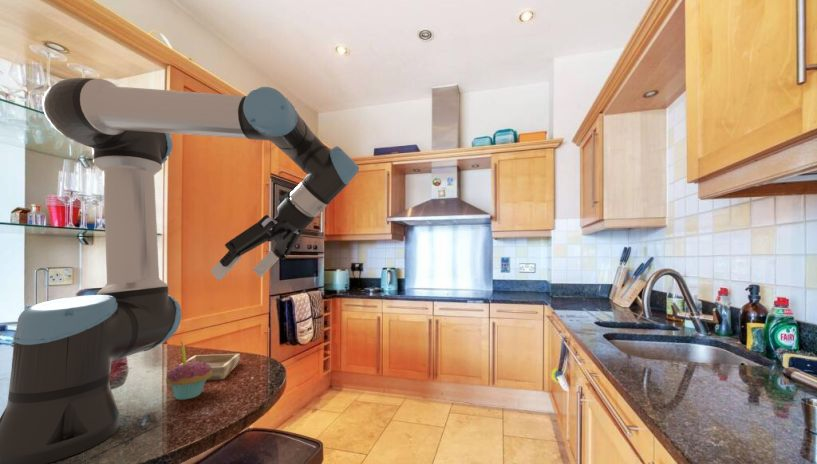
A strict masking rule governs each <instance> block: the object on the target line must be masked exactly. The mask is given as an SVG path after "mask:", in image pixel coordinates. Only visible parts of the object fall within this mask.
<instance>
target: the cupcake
mask: <svg viewBox="0 0 817 464" xmlns="http://www.w3.org/2000/svg"><path fill="white" fill-rule="evenodd" d="M180 344H181V346H180V349H181V358H182V360H181V361H182V363H183V364H181V363H180V364H181V365H180V364H177V365H176V366H175V367H173V368H172V369H171V370H170V371H169V372H168V373H167V375H166V379H165V381H166V384H167V385H170V387H171V389H172V391H173V394H174V398H175V399H176V400H188V399H189V400H190V399H193V398H196V397H198V396H200V395H201V394H202V392H203V391H202V390H203V388H204V386H205V383H206V382H207V381H208V380H207V379H208V378H210V377H211V375H212V370H211V369H212V368H211V367H210V366H209V365H208V364H206V363H204V362H200V361H194V362H187V363H186V360H187V356H186V347H185V344H183V342H181V343H180Z"/></svg>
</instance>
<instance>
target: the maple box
mask: <svg viewBox="0 0 817 464" xmlns="http://www.w3.org/2000/svg"><path fill="white" fill-rule="evenodd" d="M194 361H200V362H204V363H206V364H208V365H209V366H210V367H211V368H212V369H211V370H212V375H211V377H210V378H208V379H207V380H206V381H214V380H215V381H216V380H218V381H219V380H224V379H225V378H226V377H227V376H229V375H230V374H231V373H232V372H233V371H234V370H235V369H236V368H237V367H238V366H239V365H240V364H241V363H240V361H241V353H222V354H221V353H218V354H197V355H196V354H195V355H193V356H191V357H189V358H188V359H186V363H187V362H194ZM239 363H240V364H239ZM181 364H183V362H182V363H180V364H179V365H181ZM238 364H239V365H238ZM237 365H238V366H237ZM236 366H237V367H236ZM235 367H236V368H235ZM234 368H235V369H234ZM233 369H234V370H233ZM232 370H233V371H232ZM231 371H232V372H231ZM230 372H231V373H230Z"/></svg>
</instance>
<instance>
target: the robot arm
mask: <svg viewBox="0 0 817 464" xmlns="http://www.w3.org/2000/svg"><path fill="white" fill-rule="evenodd" d="M42 108H43V113H44V115H45V118H46V119H47V121H48V122H49V124H50V125H51V126H52V127H53V128H54V129H55V130H56V131H57V132H58V133H59V134H61V135H63V136H64V137H65V138H67V139H68V140H71V141H74V142H76V143H78V144H81V145H84V146H86V147H89V148H91V149H92V165H94V166H95V167H96V168H97V169H98V170H100V171H101V172H102V179H103V180H102V181H103V206H104V207H103V208H104V209H103V210H104V211H103V212H104V233H105V235H104V237H105V240H104V242H105V264H106V265H105V266H106V283H105V285H104V286H103V287H102V288H101V289H100V290H98V292H96V294H88V295H87V294H86V295H78V296H73V297H62V298H58V299H52V300H47V301H43V302H39V303H37V304H36V303H35V304H33V305H31V306H29V307H27V308H25V309H24V310H23V311H22V312H21V313H20V315H19V316H18V319H17V321H16V322H17V323H16V328H15V329H16V330H15V331H14V333H13V335H12V340H13V347H12V348H13V349H12V359H11V360H12V361H11V369H10V379H9V387H8V397H7V402H6V403H7V404H6V406H5V408H4V410H3V412H2V414H1V416H0V464H49V463H53V462H57V461H59V460H63V459H66V458H69V457H71V456H75V455H77V454H80V453H82V452H85V451H87V450H89V449H91V448H93V447H95V446H97V445H99V444H101V443H103V442H104V441H106V440H107V439H109V438H110V437H111V436H113V435H114V434H115V433H116V432H117V431H118V429H119V426H120V417H121V415H120V411H119V409H118V406H117V402H116V399H115V397H114V394H113V391H112V388H111V386H110V381H111V370H112V363H113V362H115V361H118V360H120V359H123V358H126V357H129V356H133V355H136V354H138V353H141V352H147V351H149V350H152V349H154V348H156V347H157V346H159V345H161V344H164V343H166V342H167V341H168V340H170V339H171V338H172V337H173V336H174V335H175V333H176V332H177V330H178V329H179V327H180V324H181V321H182V315H183V314H182V308H181V305H180V303H179V302H178V301H177V300H175V299H176V298H175V297H173V296H172V295H169V285H168V283H166V282H164V281H163V280H162V279H161V278H160V269H159V252H158V251H159V249H158V227H157V210H156V209H157V206H156V187H155V186H156V185H155V183H156V182H155V175H156V174H157V173H159V172H160V171H161V170H162V169H163V164H164V163H165V162H166V161H168V157H170V156H171V154H172V150H173V139H172V135H173V134H175V135H176V134H177V135H188V136H190V135H192V136H205V137H217V138H219V137H220V138H231V139H244V140H245V139H248V140H258V141H268V142H271V143H272V144H274V145H275V146H276V147H277V148H278V149H279V150H281V152H283V153H284V154H285V155H286V156H288V158H289V159H291V161H293V163H294V164H296V165H297V167H299V168H300V169H301V170H302V172H303V173H305V174H306V176H305V177H304V178H303V180H302V181H301V182H299V184H298V185H297V186H296V187H295V188H294V189H293V190H292V191H291V192H290V193H289V196H287V197H286V198H284V200H283V201H281V203H279V204H278V206H277V208H276V209H277V210H276V211H277V215H276V216H275V217H274V218H273V219H272V218H271V217H270V216H269V215H268V214H266V215H264V216H263V217H261V218H260V220H259V221H257V222H256V223H254V224H253V225H251V226H250V227H248V228H247V229H245V230H244V231H242V232H240V233H239V234H237V235H236V236H235V237H233V238H232V239H231V240H229V241H227V242H226V243H225V244H224V247H225V248H226V249H227V250H228V251H227V253H225V255H224V256H222V257H221V258H220V260H219V261H217V263H216V264H215V265H214V266H213V267H212V268H211V269H210V273H211V274H212V275H213V276H214V277H215V279H216V280H217V281H222V279H223V278H224V277H225V276H227V274H228V273H229V272H230V271H231V270H232V269H233V268H234V267H235V266H236V265H237V264H238V262H240V260H241V259H242V256H243V255H244V254H246V253H248V252H250V251H252V250H253V249H255V248H257V247H259V246H260V245H263V244H264V243H266V242H268V243H270V242H273V241H274V240H275V243H274V244H275V245H274V249H273V250H270V251H269V252H268V253H267V254H265V256H264V257H263V258H262V259H261V260H260V261H258V263H257V265H255V266H254V267H253V271H254V272H255V273H256V275H257V276H258V277H259V278H262V277H263V276H264V275H265V274H266V273H267V272H268V271H269V270H270V269H271V268H272V267H273V265H274V264H275V263H277V261H278V260H279V259H280V260H281V261H283V260H285V259H286V257H287V256H289V255H290V254H291V252H292V250H293V248H294V246H295V245H296V243H297V241H298V239H299V238H300V236H301V235H302V234H303V232H305V229H307V228H308V227H309V226H310V224H311V223H312V222H313V221H314V217H315V218H316V217H318V216H319V215H320V214H321V213H324V212H325V208H326V207H327V206H328V205H329V204H331V202H332V201H333V200H334V199H335V198H337V196H338V195H339V194H340V193H341V192H342V191H343V190H344V189H345V188H346V187H347V186H349V184H350V182H351V181H352V180H353V179H354V178H355V177H356V176H357V175H358V173H359V170H360V169H359V165H358V163H356V162H355V160H353V159H352V157H350V156H349V155H348V154H347V153H346V152H345V151H344V150H343V149H342V148H341V147H340V146H334V147H332V148H331V149H330V148H328V146H326V145H325V144H324V143H323V142H322V141H321V140H320V139H319V137H317V135H316V134H314V132H313V130H311V129H310V127H309V126H308V125H307V124H306V122H305V121H304V120H303V118H302V117H301V115H300V114H299V113H298V112H297V110H296V107H295V106H294V105H293V103H292V102H291V101H290V100H289V99H288V98H287V97H286V96H285V95H284V94H283V93H281V92H280V91H279V90H277V89H276V88H273V87H270V86H261V87H259V88H258V87H257V88H256V89H253V90H251V91H250V92H249V93H248V94H247V95H238V94H235V95H234V94H223V93H222V94H221V93H208V92H196V91H193V92H192V91H180V90H169V89H158V88H157V89H155V88H141V87H131V86H117V85H116V84H115V83H113V82H112V81H109V80H108V79H104V78H102V79H101V78H90V77H72V78H71V77H69V78H65V79H62V80H59V81H57V82H55V83H53V84H52V85H50V86H49V87H48V88H47V90H45V93H44V96H43V98H42Z"/></svg>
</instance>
